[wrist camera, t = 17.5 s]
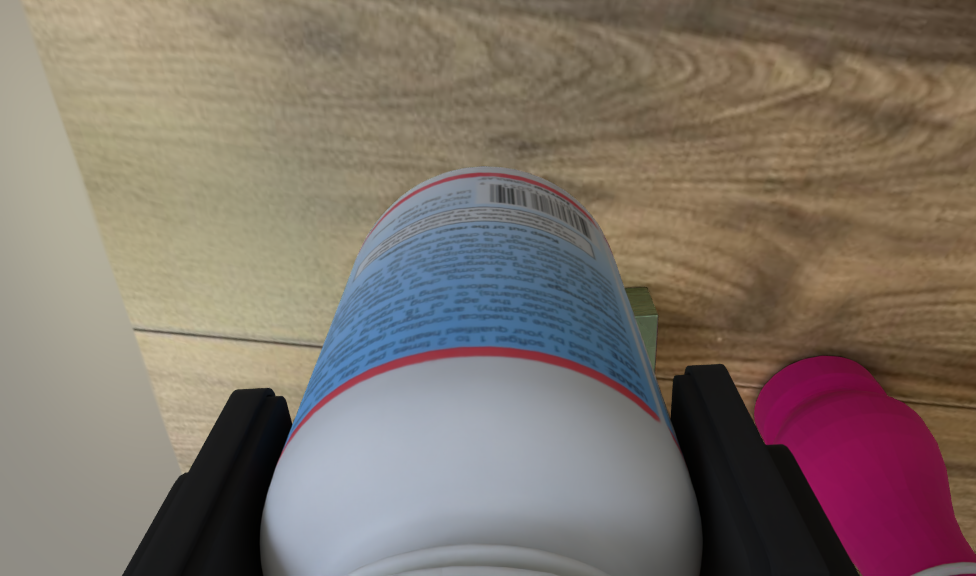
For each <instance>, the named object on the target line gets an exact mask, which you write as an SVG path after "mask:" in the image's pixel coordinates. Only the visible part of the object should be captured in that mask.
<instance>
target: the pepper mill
mask: <svg viewBox="0 0 976 576" xmlns="http://www.w3.org/2000/svg"><path fill="white" fill-rule="evenodd" d="M754 416H755V423H756V426H757V428H758V430H759V432H760V434H761V436H762V438H763V440H764V442H765V444H766V445H773V444H783V445H785V446H787V447H788V448H789V450H790V451H791V452H792V454H793V456H794V457H795V459H796V461H797V463H798V465H799V466H800V468H801V470H802V472H803V474H804V476H805V477H806V479H807V481H808V483H809V485H810V486H811V488H812V490H813V492H814V494H815V496H816V497H817V499H818V501H819V503H820V505H821V506H822V508H823V510H824V512H825V514H826V516H827V517H828V519H829V521H830V523H831V525H832V526H833V528H834V530H835V532H836V534H837V536H838V537H839V539H840V541H841V543H842V545H843V547H844V548H845V550H846V552H847V554H848V556H849V557H850V559H851V561H852V562H853V563H854V564H855V565H856V566H857V568H858V569H859V571H860V572H861V574H862V575H863V576H976V554H975V553H974V552H973V550H972V549H971V547H970V545H969V544H968V542H967V541H966V539H965V538H964V536H963V535H962V532H961V530H960V527H959V525H958V523H957V520H956V518H955V515H954V511H953V506H952V501H951V495H950V488H949V482H948V476H947V470H946V466H945V463H944V461H943V458H942V455H941V452H940V449H939V446H938V444H937V442H936V440H935V438H934V437H933V435H932V433H931V432H930V430H929V429H928V427H927V426H926V424H925V423H924V421H923V420H922V418H921V417H920V416H919V415H918V414H917V413H916V412H915V411H914V410H912V409H911V408H910V407H909V406H907V405H906V404H905V403H903V402H901V401H899V400H897V399H894V398H892V397H889V396H887V394H886V393H885V391H884V390H883V388H882V387H881V386H880V385H879V383H878V382H877V381H876V380H875V379H874V377H873V376H872V375H871V374H870V372H869V371H867V370H866V369H865V368H864V367H863V366H861V365H860V364H858V363H857V362H855V361H852V360H850V359H847V358H843V357H836V356H818V357H812V358H807V359H803V360H801V361H798V362H796V363H793V364H791V365H788V366H787V367H785V368H784V369H782V370H781V371H779V372H778V373H777V374H775V375H774V376H773V377H772V378H771V379H770V380H769V381H768V382H767V383H766V385H765V386H764V387H763V388H762V390H761V392H760V394H759V396H758V398H757V400H756V405H755V411H754Z"/></svg>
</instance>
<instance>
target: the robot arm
mask: <svg viewBox="0 0 976 576" xmlns="http://www.w3.org/2000/svg"><path fill="white" fill-rule="evenodd" d="M670 420H671V422H672V425H673V428H674V431H675V434H676V437H677V440H678V443H679V446H680V449H681V451H682V453H683V456H684V459H685V463H686V465H687V468H688V471H689V474H690V478H691V482H692V485H693V488H694V491H695V494H696V498H697V501H698V506H699V511H700V516H701V524H702V536H703V550H702V560H701V569H700V574H699V576H859V574H858V572H857V570H856V568H855V567H854V565H853V563H852V561H851V559H850V557H849V556H848V554H847V552H846V550H845V548H844V547H843V545H842V543H841V541H840V539H839V537H838V536H837V534H836V532H835V530H834V528H833V526H832V525H831V523H830V521H829V519H828V517H827V516H826V514H825V512H824V510H823V508H822V506H821V505H820V503H819V501H818V499H817V497H816V496H815V494H814V492H813V490H812V488H811V486H810V485H809V483H808V481H807V479H806V477H805V476H804V474H803V472H802V470H801V468H800V466H799V465H798V463H797V461H796V459H795V457H794V456H793V454H792V452H791V451H790V450H789V448H788V447H787V446H785V445H783V444H773V445H765V444H764V442H763V440H762V438H761V436H760V434H759V432H758V430H757V428H756V426H755V424H754V422H753V420H752V418H751V416H750V414H749V412H748V410H747V408H746V406H745V404H744V402H743V400H742V398H741V396H740V394H739V392H738V390H737V388H736V386H735V384H734V382H733V381H732V379H731V377H730V375H729V373H728V371H727V369H726V367H725V366H724V365H723V364H711V365H692V366H687V367H686V369H685V374H684V375H675V376H674V379H673V389H672V404H671V418H670ZM291 428H292V421H291V417H290V414H289V410H288V406H287V402H286V400H285V398H284V397H283V396H275V393H274V392H273V390H272V389H270V388H257V389H238V390H235V391H233V393H232V394H231V395H230V397H229V399H228V401H227V403H226V405H225V406H224V408H223V410H222V412H221V414H220V416H219V417H218V419H217V421H216V423H215V425H214V426H213V428H212V430H211V432H210V434H209V436H208V437H207V439H206V441H205V443H204V445H203V446H202V448H201V450H200V452H199V454H198V456H197V457H196V459H195V461H194V463H193V465H192V466H191V468H190V470H189V472H188V473H184V474H183V475H181V476H179V478H178V479H177V480H176V482H175V483H174V485H173V487H172V488H171V490H170V492H169V493H168V495H167V497H166V499H165V501H164V502H163V504H162V506H161V508H160V509H159V511H158V513H157V515H156V516H155V518H154V520H153V522H152V524H151V525H150V527H149V529H148V531H147V533H146V534H145V536H144V538H143V539H142V541H141V543H140V545H139V547H138V548H137V550H136V552H135V554H134V555H133V557H132V559H131V561H130V563H129V564H128V566H127V568H126V570H125V571H124V573H123V575H122V576H263V571H262V566H261V555H260V528H261V520H262V513H263V509H264V505H265V501H266V496H267V493H268V490H269V487H270V484H271V481H272V478H273V474H274V471H275V468H276V465H277V463H278V461H279V458H280V456H281V453H282V451H283V448H284V446H285V443H286V441H287V438H288V435H289V433H290V430H291Z"/></svg>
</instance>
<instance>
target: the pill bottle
mask: <svg viewBox="0 0 976 576" xmlns="http://www.w3.org/2000/svg"><path fill="white" fill-rule="evenodd" d="M702 550H703V536H702V524H701V516H700V511H699V506H698V501H697V498H696V494H695V491H694V488H693V485H692V482H691V478H690V474H689V471H688V468H687V465H686V463H685V459H684V456H683V453H682V451H681V449H680V446H679V443H678V440H677V437H676V434H675V431H674V428H673V425H672V422H671V420H670V417H669V414H668V411H667V408H666V405H665V402H664V399H663V397H662V394H661V391H660V388H659V385H658V382H657V379H656V376H655V374H654V371H653V368H652V365H651V362H650V359H649V356H648V353H647V350H646V348H645V345H644V341H643V339H642V336H641V333H640V330H639V328H638V325H637V322H636V319H635V316H634V313H633V311H632V308H631V305H630V302H629V299H628V296H627V294H626V291H625V288H624V285H623V282H622V279H621V276H620V274H619V271H618V268H617V265H616V262H615V259H614V257H613V254H612V251H611V249H610V246H609V244H608V242H607V240H606V238H605V236H604V234H603V232H602V230H601V228H600V227H599V225H598V223H597V222H596V221H595V219H594V218H593V217H592V215H591V214H590V213H589V212H588V211H587V210H586V208H585V207H584V206H583V205H582V204H580V203H579V202H578V201H577V200H576V199H575V198H574V197H573V196H571V195H570V194H569V193H567V192H566V191H565V190H563V189H562V188H560V187H558V186H557V185H555V184H553V183H552V182H549V181H547V180H545V179H543V178H541V177H538V176H535V175H532V174H529V173H527V172H523V171H519V170H515V169H510V168H503V167H487V166H481V167H470V168H463V169H458V170H453V171H449V172H446V173H443V174H440V175H438V176H435V177H433V178H430V179H428V180H426V181H424V182H422V183H421V184H419V185H417V186H415V187H414V188H412V189H411V190H409V191H408V192H406V193H405V194H404V195H402V196H401V197H400V198H399V199H398V200H397V201H395V202H394V203H393V204H392V205H391V206H390V207H389V208H388V209H387V210H386V211H385V212H384V214H383V215H382V216H381V217H380V218H379V219H378V221H377V222H376V223H375V224H374V226H373V227H372V229H371V230H370V232H369V233H368V235H367V237H366V238H365V241H364V243H363V245H362V247H361V249H360V251H359V253H358V256H357V258H356V260H355V263H354V266H353V268H352V271H351V274H350V276H349V279H348V282H347V284H346V287H345V290H344V292H343V295H342V298H341V300H340V303H339V305H338V308H337V311H336V313H335V316H334V319H333V321H332V324H331V326H330V329H329V332H328V334H327V337H326V340H325V342H324V345H323V347H322V350H321V353H320V355H319V358H318V360H317V363H316V365H315V368H314V370H313V373H312V376H311V378H310V381H309V383H308V386H307V389H306V391H305V394H304V396H303V399H302V402H301V404H300V407H299V409H298V412H297V415H296V417H295V420H294V422H293V425H292V428H291V430H290V433H289V435H288V438H287V441H286V443H285V446H284V448H283V451H282V453H281V456H280V458H279V461H278V463H277V465H276V468H275V471H274V474H273V478H272V481H271V484H270V487H269V490H268V493H267V496H266V501H265V505H264V509H263V513H262V520H261V528H260V555H261V566H262V571H263V576H699V574H700V569H701V560H702Z"/></svg>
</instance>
